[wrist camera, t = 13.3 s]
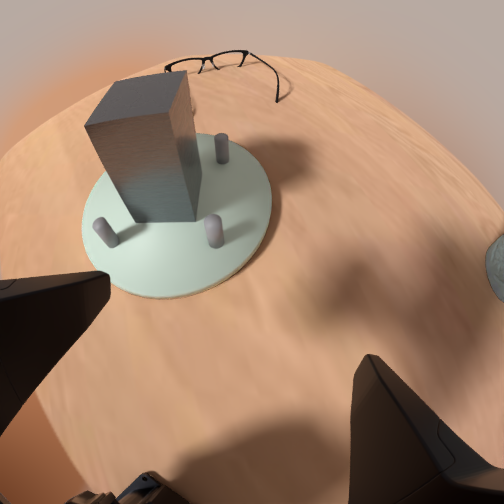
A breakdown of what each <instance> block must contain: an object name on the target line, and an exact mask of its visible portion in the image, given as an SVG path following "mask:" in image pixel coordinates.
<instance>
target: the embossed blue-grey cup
mask: <svg viewBox="0 0 504 504" xmlns="http://www.w3.org/2000/svg"><path fill="white" fill-rule="evenodd" d="M486 271H487V275H488V279H489V282H490V284H491V287H492V289H493V291H494V292H495V294H496V295H497V297H498V298H499V299H500V300H501V301H503V302H504V234H503V235H502V236H500V237H499V238H498V239H497V240H496V241H495V242H494V243H493V244H492V245H491V246H490V247H489V249H488V251H487V253H486Z"/></svg>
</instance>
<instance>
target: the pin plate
mask: <svg viewBox="0 0 504 504" xmlns="http://www.w3.org/2000/svg"><path fill="white" fill-rule="evenodd" d="M196 138H197V144H198V150H199V156H200V162H201V168H202V180H201V187H200V194H199V202H198V209H197V217H196V222H167V223H135V221H134V220H133V218H132V216H131V215H130V213H129V211H128V209H127V208H126V206H125V204H124V202H123V201H122V199H121V197H120V195H119V194H118V192H117V190H116V188H115V186H114V184H113V183H112V181H111V179H110V177H109V175H108V173H107V171H105V172H104V173H103V175H102V176H101V177H100V179H99V180H98V181H97V183H96V184H95V186H94V188H93V189H92V191H91V193H90V195H89V197H88V200H87V202H86V205H85V209H84V213H83V219H82V237H83V243H84V246H85V250H86V253H87V255H88V257H89V259H90V261H91V262H92V264H93V265H94V266H95V268H96V269H97V270H98V271H99V270H100V271H103V272H105V273H108V274H109V275H110V281H111V283H112V284H113V285H115V286H116V287H118V288H119V289H121V290H123V291H126V292H128V293H130V294H132V295H136V296H140V297H143V298H150V299H176V298H183V297H188V296H191V295H195V294H198V293H202V292H204V291H206V290H208V289H211V288H213V287H215V286H217V285H219V284H220V283H222V282H224V281H225V280H227V279H229V278H230V277H231V276H232V275H234V274H235V273H236V272H237V271H239V270H240V269H241V268H242V267H243V266H244V265H245V264H246V263H247V262H248V261H249V260H250V259H251V257H252V256H253V255H254V253H255V252H256V251H257V249H258V248H259V246H260V244H261V242H262V240H263V238H264V236H265V234H266V231H267V228H268V225H269V220H270V215H271V208H272V194H271V187H270V183H269V180H268V177H267V175H266V173H265V171H264V169H263V167H262V166H261V165H260V163H259V162H258V160H257V159H256V158H255V157H254V156H253V155H252V154H251V153H250V152H248V151H247V150H246V149H244V148H243V147H241V146H240V145H238V144H236V143H234V142H232V141H230V140H228V135H227V134H224V133H219V134H217V135H215V136H214V135H208V134H200V133H196Z"/></svg>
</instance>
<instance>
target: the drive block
mask: <svg viewBox="0 0 504 504" xmlns="http://www.w3.org/2000/svg"><path fill="white" fill-rule="evenodd" d="M84 127H85V129H86V131H87V133H88V135H89V138H90V140H91V142H92V144H93V146H94V148H95V150H96V152H97V154H98V156H99V158H100V160H101V162H102V164H103V166H104V168H105V169H106V171H107V173H108V175H109V177H110V179H111V181H112V183H113V184H114V186H115V188H116V190H117V192H118V194H119V195H120V197H121V199H122V201H123V202H124V204H125V206H126V208H127V209H128V211H129V213H130V215H131V216H132V218H133V220H134V221H135V223H167V222H196V217H197V209H198V202H199V194H200V187H201V180H202V168H201V162H200V156H199V150H198V144H197V138H196V132H195V125H194V119H193V112H192V105H191V98H190V91H189V84H188V77H187V70H185V71H176V72H167V73H160V74H153V75H147V76H141V77H135V78H130V79H125V80H120V81H116V82H114V84H113V85H112V86H111V88H110V89H109V90H108V92H107V93H106V94H105V96H104V97H103V99H102V100H101V101H100V103H99V104H98V106H97V107H96V109H95V110H94V111H93V113H92V114H91V116H90V118H89V119H88V121H87V122H86V124H85V125H84Z"/></svg>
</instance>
